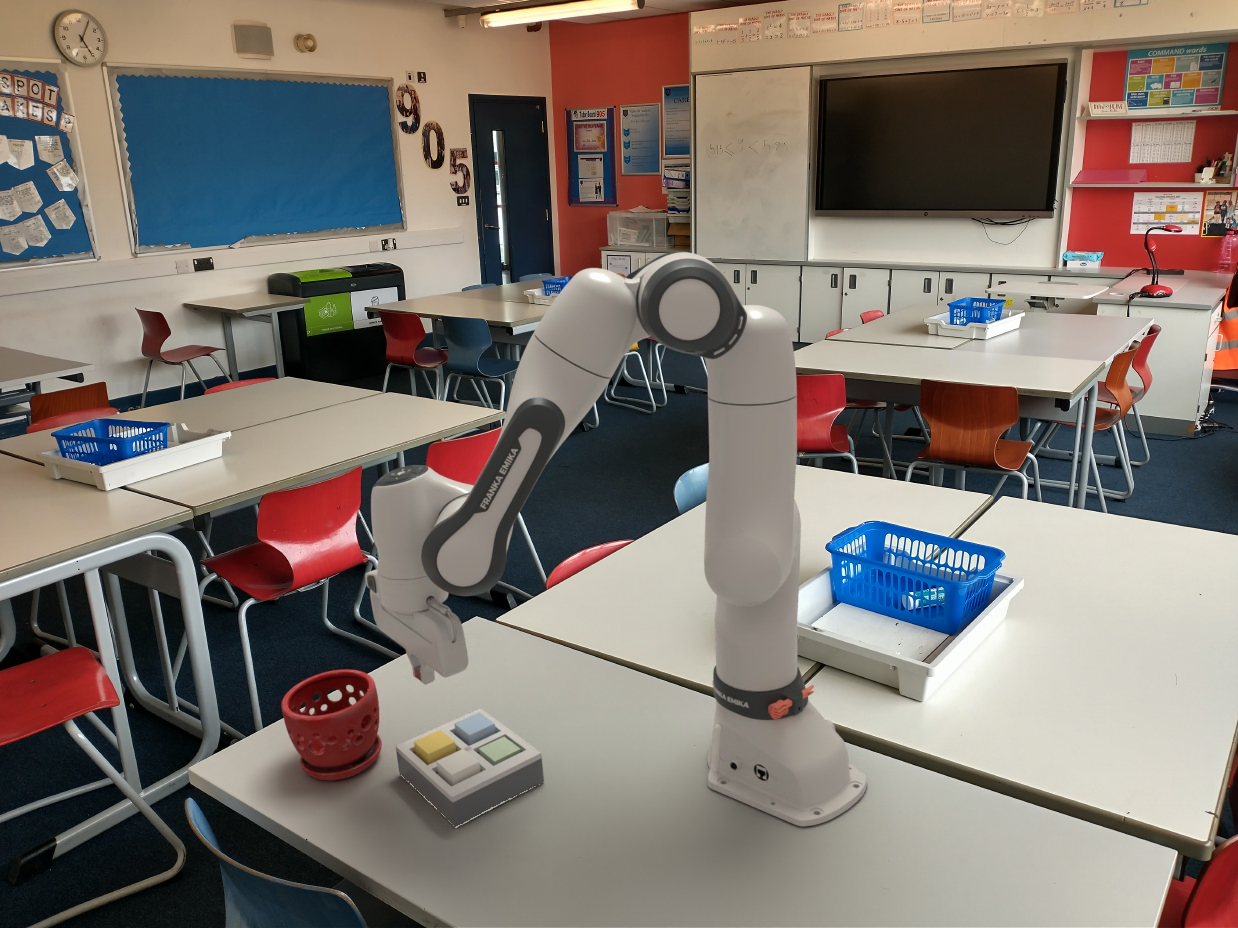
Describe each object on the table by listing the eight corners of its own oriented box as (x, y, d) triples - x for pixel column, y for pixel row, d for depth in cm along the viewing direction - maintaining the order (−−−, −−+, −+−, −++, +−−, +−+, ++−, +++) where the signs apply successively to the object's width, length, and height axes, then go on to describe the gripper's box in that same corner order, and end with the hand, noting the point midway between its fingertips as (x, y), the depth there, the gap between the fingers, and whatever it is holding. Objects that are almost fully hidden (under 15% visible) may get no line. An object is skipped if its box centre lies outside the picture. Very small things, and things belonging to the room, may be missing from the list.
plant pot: (316, 737, 146) (303, 667, 143) (398, 737, 145) (388, 667, 141) (278, 789, 134) (264, 715, 130) (367, 791, 132) (356, 715, 129)
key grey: (481, 778, 128) (479, 761, 127) (454, 791, 125) (451, 774, 124) (465, 764, 131) (463, 748, 130) (438, 777, 128) (436, 761, 128)
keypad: (544, 782, 132) (541, 752, 130) (456, 828, 123) (452, 797, 122) (483, 735, 144) (480, 708, 142) (399, 774, 135) (395, 745, 134)
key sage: (522, 764, 132) (520, 748, 131) (496, 777, 129) (494, 761, 129) (505, 752, 135) (504, 736, 134) (480, 764, 133) (478, 748, 132)
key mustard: (457, 757, 133) (455, 741, 132) (430, 770, 130) (428, 753, 129) (442, 745, 136) (440, 729, 135) (415, 757, 133) (413, 741, 133)
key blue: (496, 739, 136) (494, 723, 136) (471, 751, 134) (469, 735, 133) (481, 727, 140) (479, 712, 139) (456, 738, 137) (454, 723, 136)
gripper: (475, 603, 119) (484, 700, 123) (400, 558, 135) (410, 645, 139) (430, 619, 116) (441, 718, 120) (358, 571, 131) (370, 660, 135)
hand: (424, 679), depth 129 cm, fingers closed
